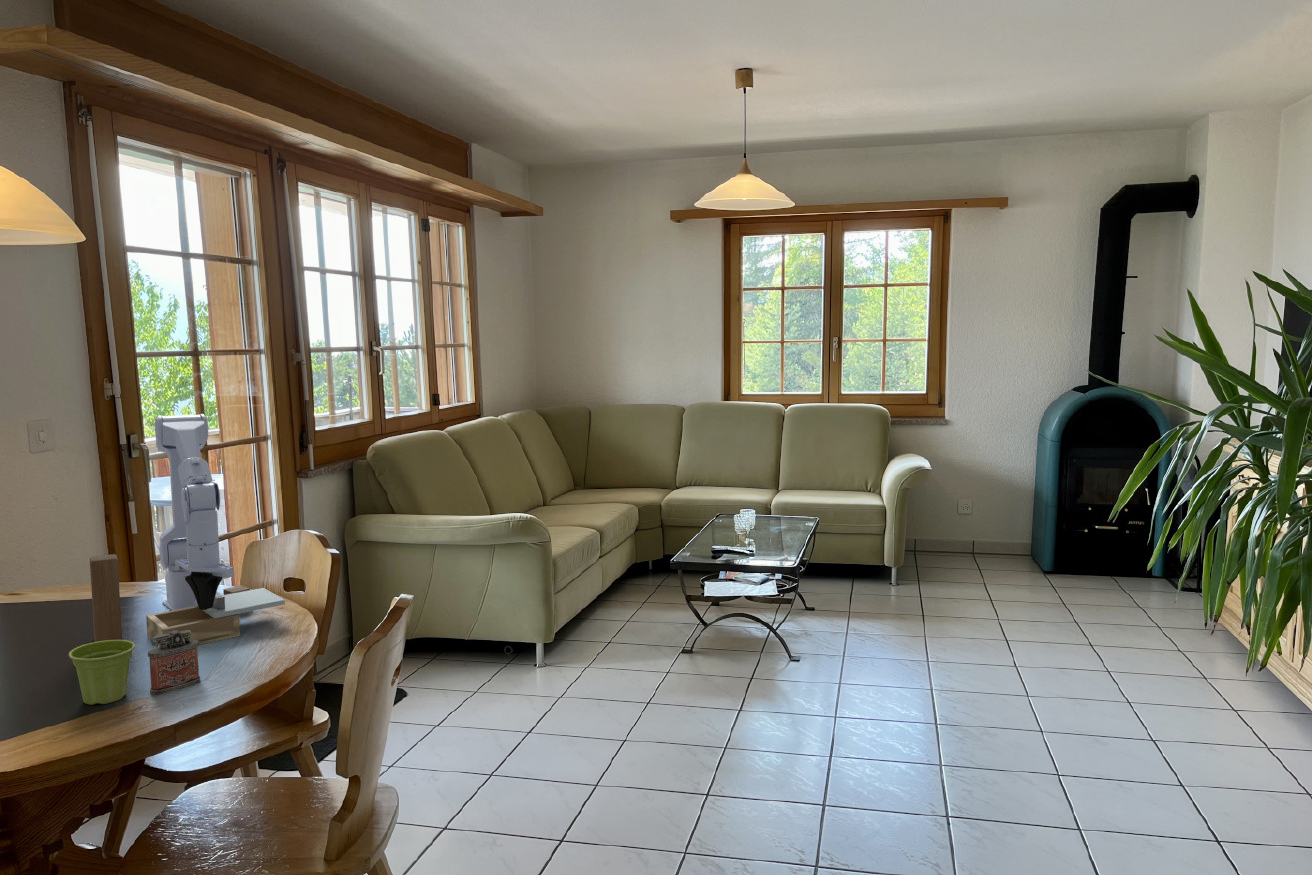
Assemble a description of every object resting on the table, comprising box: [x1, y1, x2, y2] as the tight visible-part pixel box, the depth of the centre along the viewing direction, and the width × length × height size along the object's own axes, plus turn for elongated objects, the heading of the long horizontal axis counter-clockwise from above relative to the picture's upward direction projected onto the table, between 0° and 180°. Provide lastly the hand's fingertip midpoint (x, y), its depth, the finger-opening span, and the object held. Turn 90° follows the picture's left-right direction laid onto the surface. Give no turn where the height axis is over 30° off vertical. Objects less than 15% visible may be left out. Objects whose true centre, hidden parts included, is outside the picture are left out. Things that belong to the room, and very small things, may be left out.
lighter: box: [147, 630, 201, 696], centre depth 152 cm, size 8×3×10 cm, turn 141°
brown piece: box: [145, 606, 241, 647], centre depth 178 cm, size 12×14×4 cm
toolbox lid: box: [195, 587, 286, 619], centre depth 184 cm, size 12×14×4 cm
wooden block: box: [89, 553, 123, 642], centre depth 173 cm, size 9×4×18 cm, turn 34°
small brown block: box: [222, 584, 251, 595], centre depth 195 cm, size 4×4×5 cm
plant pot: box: [68, 639, 136, 706], centre depth 147 cm, size 9×9×9 cm
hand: (206, 608), depth 176 cm, fingers closed
